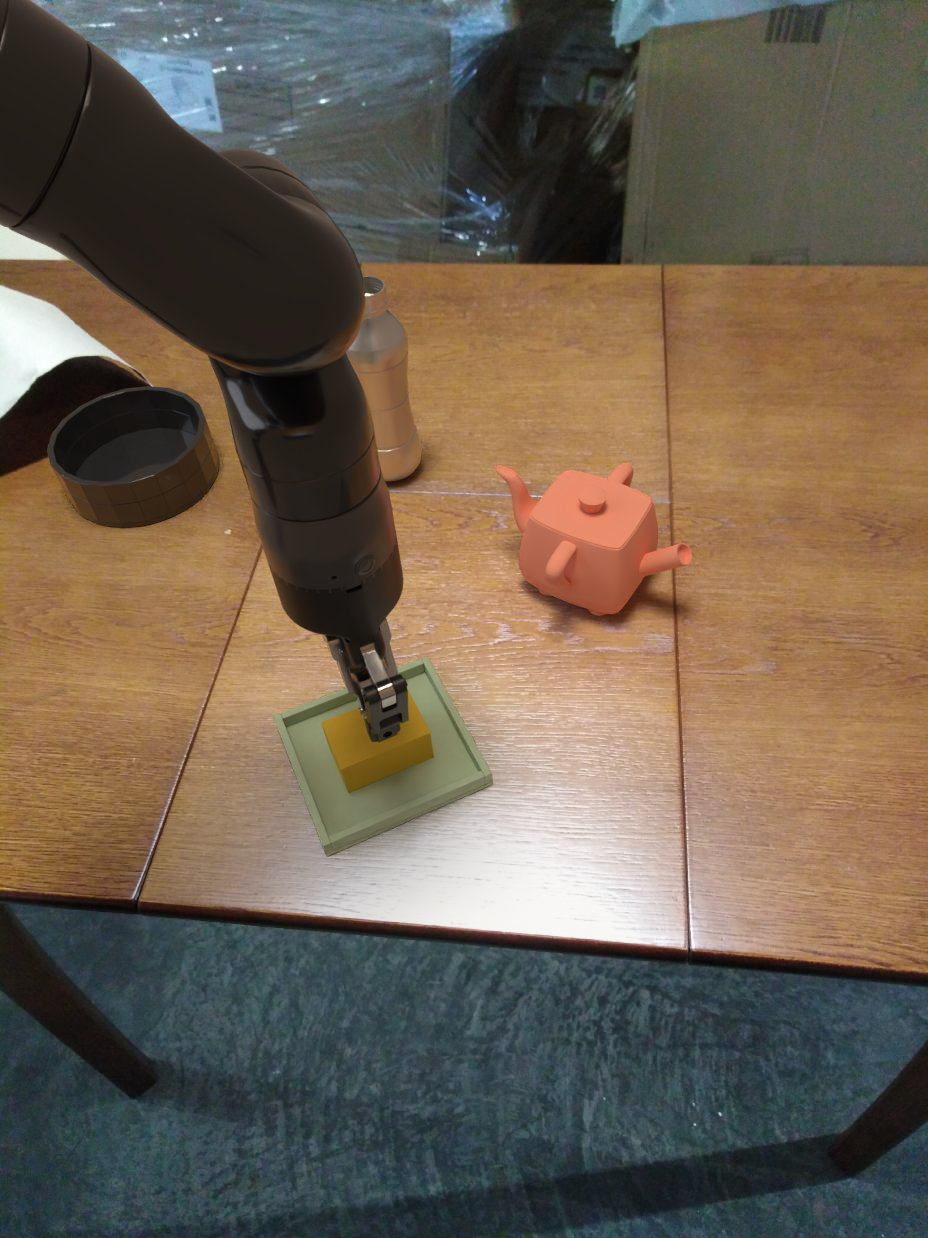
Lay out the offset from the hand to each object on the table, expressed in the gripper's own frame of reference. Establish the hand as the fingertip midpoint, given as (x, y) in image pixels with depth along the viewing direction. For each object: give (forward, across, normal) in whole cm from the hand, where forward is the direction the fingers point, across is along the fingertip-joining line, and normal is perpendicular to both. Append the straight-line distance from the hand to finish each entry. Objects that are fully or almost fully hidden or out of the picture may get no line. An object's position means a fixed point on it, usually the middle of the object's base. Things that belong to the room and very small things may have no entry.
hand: (370, 704), depth 64 cm
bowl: (+7, -42, -10) cm, 44 cm away
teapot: (+7, -9, +23) cm, 26 cm away
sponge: (+6, 0, 0) cm, 6 cm away
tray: (+7, 0, 0) cm, 7 cm away
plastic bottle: (+7, -31, +13) cm, 34 cm away
